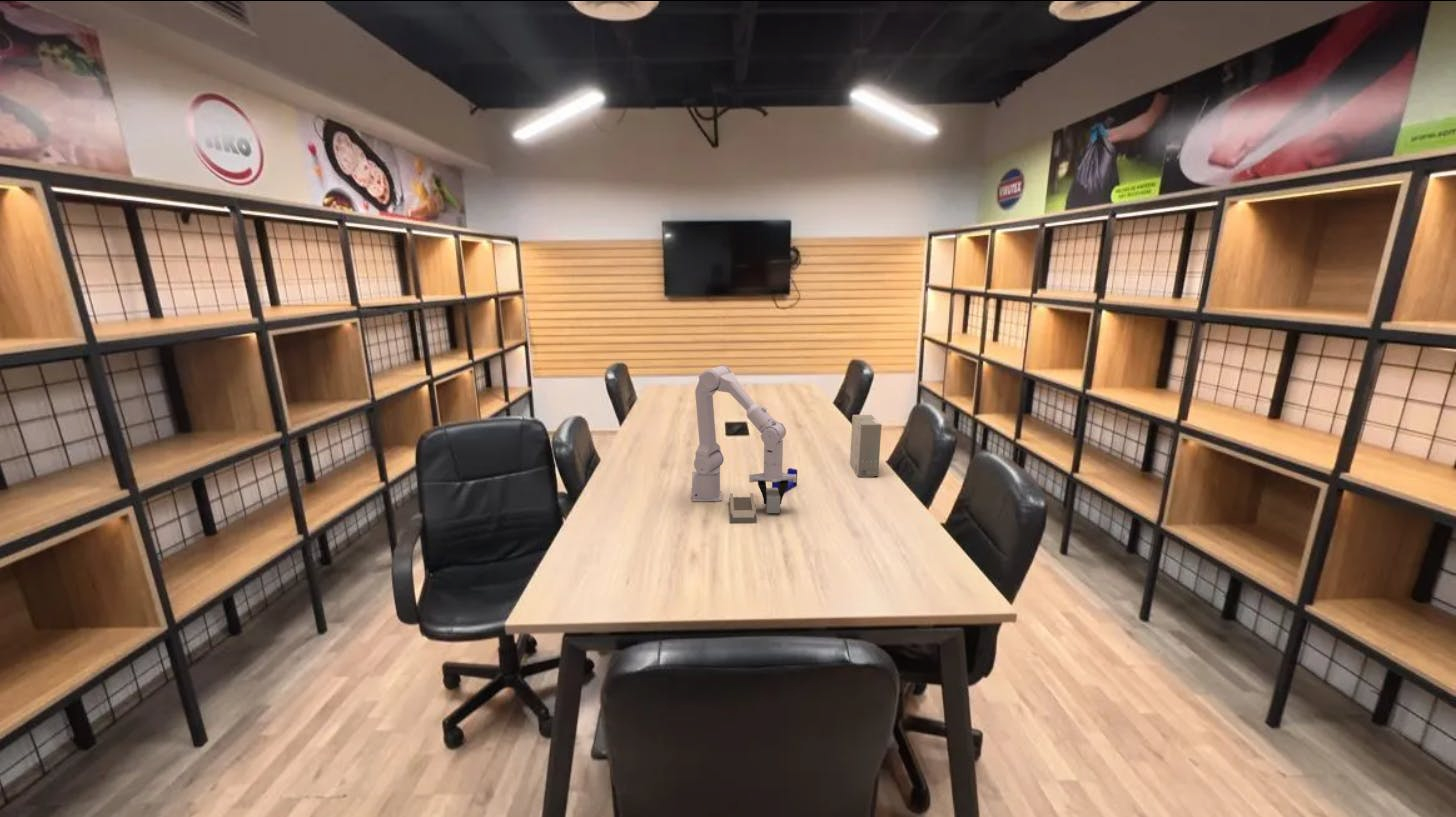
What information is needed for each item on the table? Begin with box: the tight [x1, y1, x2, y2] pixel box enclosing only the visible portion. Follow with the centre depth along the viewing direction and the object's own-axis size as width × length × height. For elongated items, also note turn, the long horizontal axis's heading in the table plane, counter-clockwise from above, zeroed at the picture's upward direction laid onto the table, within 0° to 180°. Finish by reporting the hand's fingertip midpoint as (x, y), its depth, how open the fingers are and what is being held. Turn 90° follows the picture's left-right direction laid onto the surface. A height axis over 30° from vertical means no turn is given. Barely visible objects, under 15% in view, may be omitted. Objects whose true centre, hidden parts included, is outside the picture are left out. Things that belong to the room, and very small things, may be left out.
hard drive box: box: [849, 414, 883, 478], centre depth 207 cm, size 16×8×20 cm, turn 179°
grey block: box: [764, 487, 781, 514], centre depth 174 cm, size 4×8×5 cm, turn 1°
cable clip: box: [771, 467, 798, 494], centre depth 191 cm, size 12×4×6 cm, turn 144°
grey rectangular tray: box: [728, 492, 758, 524], centre depth 173 cm, size 8×16×4 cm, turn 1°
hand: (772, 503), depth 174 cm, fingers closed on grey block, 4 cm apart
